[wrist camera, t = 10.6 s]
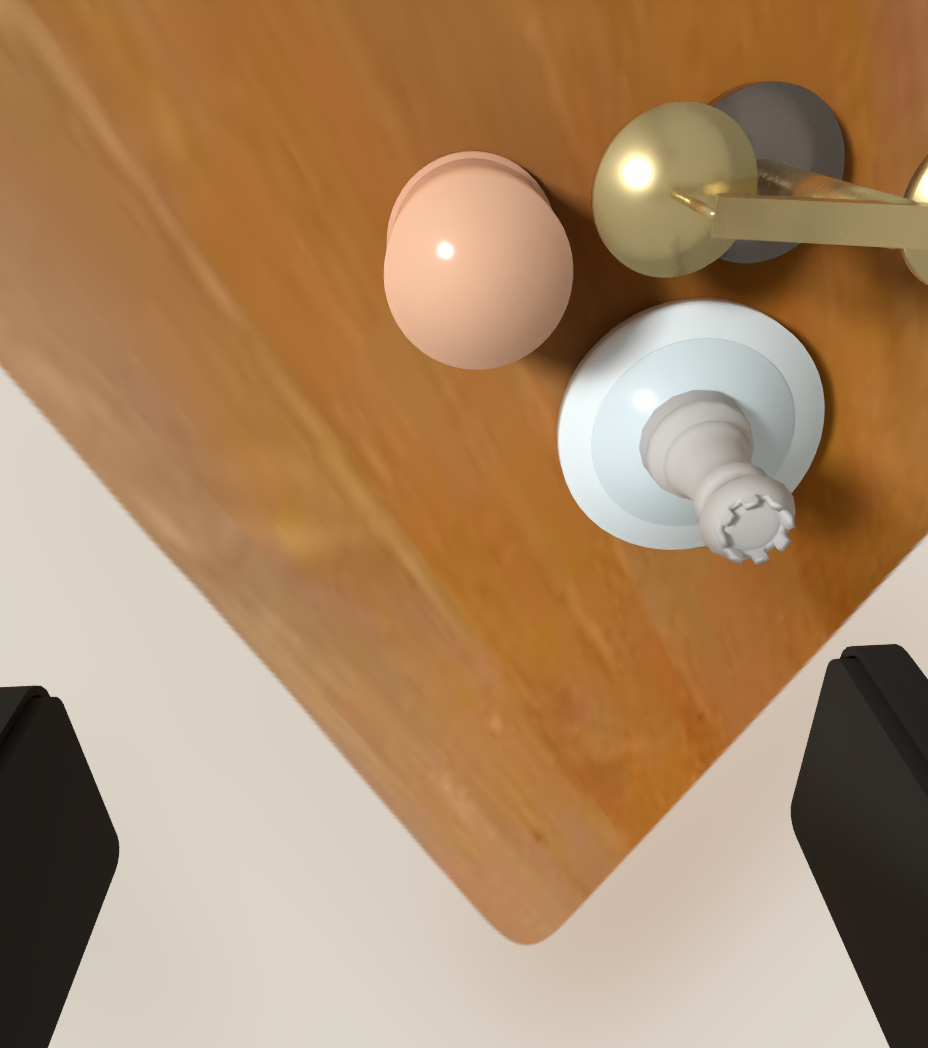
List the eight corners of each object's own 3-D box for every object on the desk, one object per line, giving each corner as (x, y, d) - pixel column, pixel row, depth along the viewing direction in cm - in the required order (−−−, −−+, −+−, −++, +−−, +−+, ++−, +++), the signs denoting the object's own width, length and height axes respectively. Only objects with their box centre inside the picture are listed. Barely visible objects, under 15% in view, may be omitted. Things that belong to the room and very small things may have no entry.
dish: (565, 295, 32) (571, 304, 31) (840, 297, 32) (855, 306, 31) (547, 536, 37) (551, 551, 36) (782, 536, 38) (793, 551, 36)
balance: (573, 78, 28) (661, 85, 17) (956, 84, 28) (1277, 95, 18) (561, 256, 31) (628, 358, 20) (908, 259, 31) (1157, 360, 21)
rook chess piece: (766, 426, 33) (854, 520, 26) (689, 502, 35) (752, 610, 28) (690, 363, 32) (761, 445, 25) (614, 446, 34) (660, 545, 27)
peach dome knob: (385, 149, 29) (373, 166, 24) (561, 151, 29) (588, 170, 24) (389, 324, 32) (380, 374, 27) (549, 326, 32) (570, 376, 27)
